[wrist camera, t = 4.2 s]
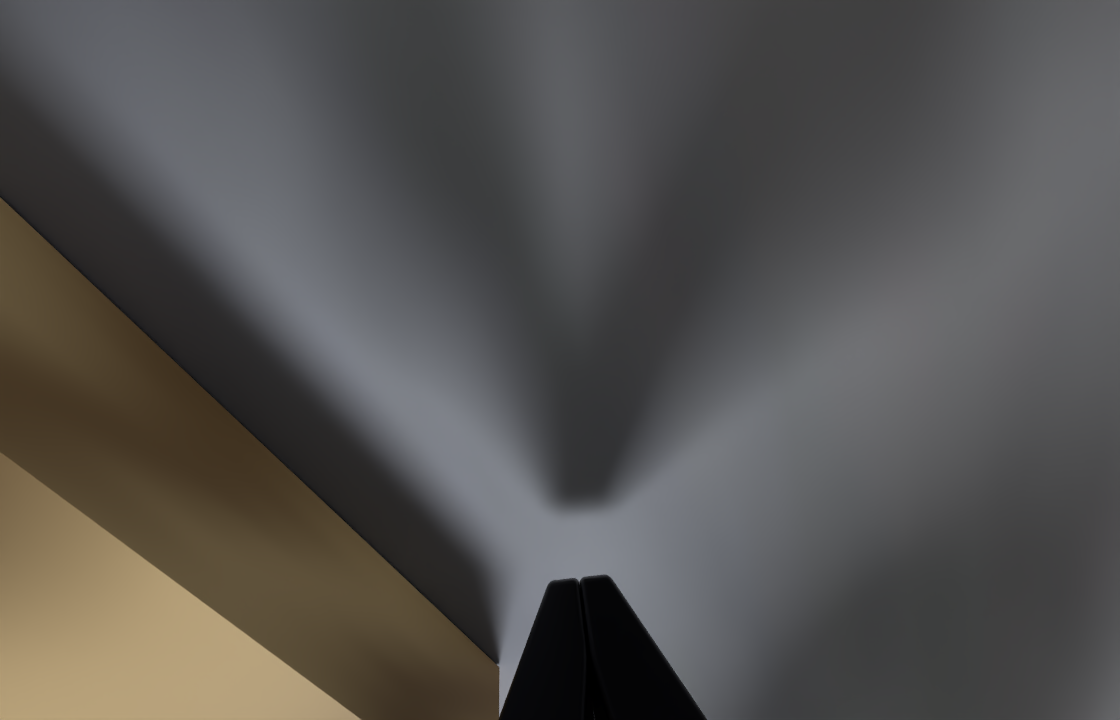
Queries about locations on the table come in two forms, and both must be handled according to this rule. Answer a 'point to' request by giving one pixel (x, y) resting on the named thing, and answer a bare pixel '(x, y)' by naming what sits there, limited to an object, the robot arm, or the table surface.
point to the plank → (181, 544)
